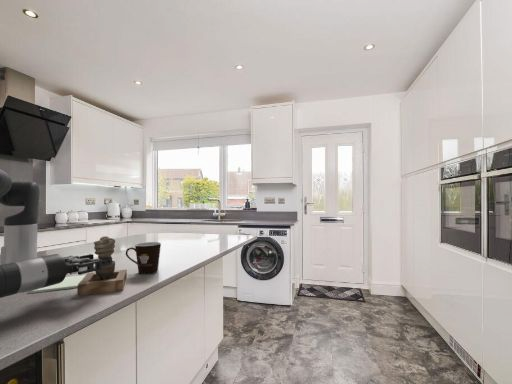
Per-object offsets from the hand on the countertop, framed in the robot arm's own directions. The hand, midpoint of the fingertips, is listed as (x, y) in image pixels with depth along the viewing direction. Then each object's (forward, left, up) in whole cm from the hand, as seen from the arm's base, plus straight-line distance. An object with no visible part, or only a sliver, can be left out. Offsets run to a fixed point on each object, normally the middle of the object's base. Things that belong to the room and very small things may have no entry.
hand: (101, 258), depth 77 cm
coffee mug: (+12, +14, -9) cm, 20 cm away
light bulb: (+1, +1, -9) cm, 9 cm away
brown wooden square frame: (+1, +1, -8) cm, 8 cm away
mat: (-12, +9, -8) cm, 17 cm away
